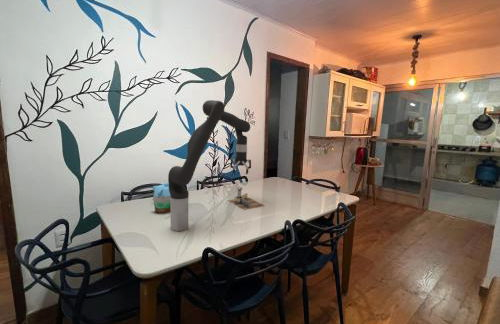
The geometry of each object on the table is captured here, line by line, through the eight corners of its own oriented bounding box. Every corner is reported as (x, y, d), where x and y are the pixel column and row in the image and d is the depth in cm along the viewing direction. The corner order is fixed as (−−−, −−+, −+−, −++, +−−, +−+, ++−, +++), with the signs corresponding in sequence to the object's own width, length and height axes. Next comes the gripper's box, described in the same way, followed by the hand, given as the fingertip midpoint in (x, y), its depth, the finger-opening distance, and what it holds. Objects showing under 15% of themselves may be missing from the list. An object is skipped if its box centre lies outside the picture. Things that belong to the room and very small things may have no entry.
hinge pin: (242, 203, 173) (243, 188, 171) (238, 203, 171) (239, 189, 169) (239, 201, 176) (240, 187, 174) (235, 202, 174) (235, 187, 172)
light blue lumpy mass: (180, 204, 167) (180, 185, 165) (155, 207, 160) (155, 187, 158) (175, 196, 183) (175, 179, 181) (152, 199, 176) (151, 180, 174)
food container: (151, 214, 147) (151, 198, 146) (152, 211, 153) (152, 195, 151) (172, 213, 150) (172, 198, 149) (173, 210, 156) (173, 195, 155)
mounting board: (227, 202, 177) (227, 200, 177) (247, 198, 188) (247, 197, 187) (243, 211, 160) (244, 210, 159) (265, 207, 170) (265, 205, 170)
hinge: (230, 200, 177) (230, 195, 176) (246, 198, 185) (246, 193, 184) (244, 208, 162) (245, 202, 161) (261, 205, 170) (261, 200, 169)
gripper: (251, 150, 172) (250, 173, 174) (231, 149, 171) (230, 172, 173) (252, 152, 164) (250, 175, 167) (230, 151, 163) (230, 174, 166)
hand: (240, 174), depth 170 cm, fingers open, 8 cm apart
